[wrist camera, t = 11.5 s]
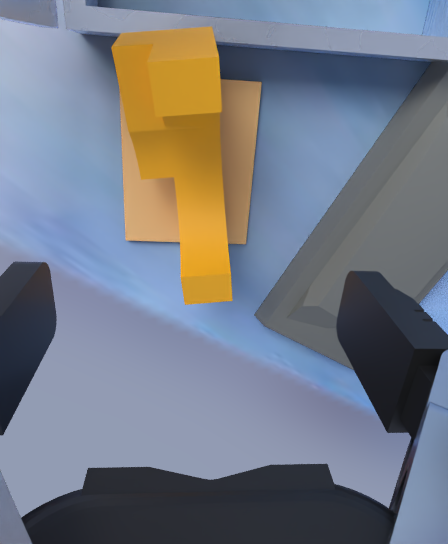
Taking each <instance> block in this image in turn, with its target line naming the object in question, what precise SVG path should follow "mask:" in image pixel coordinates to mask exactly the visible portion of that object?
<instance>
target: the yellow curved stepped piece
mask: <svg viewBox="0 0 448 544" xmlns="http://www.w3.org/2000/svg"><path fill="white" fill-rule="evenodd" d="M111 48H112V53H113V58H114V63H115V68H116V73H117V78H118V83H119V88H120V93H121V98H122V103H123V107H124V112H125V117H126V122H127V127H128V132H129V134H130V137H131V140H132V143H133V146H134V150H135V154H136V158H137V162H138V167H139V171H140V177H141V180H145V179H158V178H171V177H174V181H175V190H176V199H177V209H178V220H179V234H180V254H181V283H182V289H183V296H184V302H185V305H188V304H200V303H212V302H224V301H232V284H231V270H230V260H229V251H228V240H227V229H226V217H225V204H224V190H223V176H222V159H221V139H220V112H222V101H221V82H220V64H219V54H218V50H217V46H216V42H215V38H214V33H213V29H212V27H198V28H184V29H170V30H156V31H142V32H128V33H121V34H120V36H119V37H118V38H117V40H116V41H115V42H114V44H113V45H112V47H111Z"/></svg>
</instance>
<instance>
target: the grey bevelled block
mask: <svg viewBox="0 0 448 544" xmlns="http://www.w3.org/2000/svg"><path fill="white" fill-rule="evenodd" d="M447 270H448V62H431V64H430V65H429V67H428V68H427V69H426V71H425V72H424V74H423V75H422V77H421V78H420V79H419V81H418V82H417V84H416V85H415V87H414V88H413V89H412V91H411V92H410V94H409V95H408V97H407V98H406V99H405V101H404V102H403V104H402V105H401V106H400V108H399V109H398V111H397V112H396V114H395V115H394V116H393V118H392V119H391V121H390V122H389V124H388V125H387V126H386V128H385V129H384V131H383V132H382V133H381V135H380V136H379V138H378V139H377V141H376V142H375V143H374V145H373V146H372V148H371V149H370V151H369V152H368V153H367V155H366V156H365V158H364V159H363V161H362V162H361V163H360V165H359V166H358V168H357V169H356V170H355V172H354V173H353V175H352V176H351V178H350V179H349V180H348V182H347V183H346V185H345V186H344V188H343V189H342V190H341V192H340V193H339V195H338V196H337V198H336V199H335V200H334V202H333V203H332V205H331V206H330V207H329V209H328V210H327V212H326V213H325V215H324V216H323V217H322V219H321V220H320V222H319V223H318V225H317V226H316V227H315V229H314V230H313V232H312V233H311V234H310V236H309V237H308V239H307V240H306V242H305V243H304V244H303V246H302V247H301V249H300V250H299V252H298V253H297V254H296V256H295V257H294V259H293V260H292V262H291V263H290V264H289V266H288V267H287V269H286V270H285V272H284V273H283V274H282V276H281V277H280V279H279V280H278V282H277V283H276V284H275V286H274V287H273V289H272V290H271V292H270V293H269V294H268V296H267V297H266V299H265V300H264V302H263V303H262V304H261V306H260V307H259V309H258V310H257V312H256V313H255V314H254V315H255V316H256V317H257V319H258V320H259V321H260V322H261V323H262V324H263V325H264V326H265V327H267V328H269V329H271V330H273V331H275V332H277V333H279V334H281V335H284V336H286V337H288V338H290V339H292V340H294V341H296V342H298V343H300V344H302V345H304V346H306V347H308V348H310V349H312V350H314V351H316V352H318V353H320V354H322V355H324V356H326V357H328V358H330V359H332V360H334V361H336V362H339V363H341V364H343V365H345V366H347V367H349V368H351V369H353V367H352V365H351V363H350V361H349V359H348V357H347V356H346V354H345V352H344V350H343V348H342V346H341V344H340V342H339V340H338V337H337V330H336V323H337V316H338V312H339V307H340V302H341V298H342V293H343V288H344V284H345V279H346V276H347V274H348V273H349V272H350V271H378V272H380V273H381V274H382V275H383V276H384V278H385V279H386V280H387V281H388V282H389V283H390V284H391V285H392V286H393V288H394V289H398V290H399V291H401V292H403V293H404V294H406V295H408V296H410V297H411V298H413V299H414V300H415V301H416V302H417V303H418V304H419V303H420V302H421V301H422V300H423V298H424V297H425V296H426V295H427V294H428V293H429V291H430V290H431V289H432V288H433V287H434V286H435V284H436V283H437V282H438V281H439V280H440V279H441V277H442V276H443V275H444V274H445V273H446V272H447ZM353 370H354V369H353Z"/></svg>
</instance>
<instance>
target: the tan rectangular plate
mask: <svg viewBox="0 0 448 544" xmlns="http://www.w3.org/2000/svg"><path fill="white" fill-rule="evenodd" d="M220 82H221V101H222V112H220V139H221V159H222V176H223V190H224V204H225V217H226V229H227V240H228V244H246V239H247V228H248V218H249V208H250V198H251V187H252V177H253V167H254V156H255V146H256V136H257V126H258V115H259V105H260V95H261V84H262V82H256V81H242V80H228V79H220ZM119 89H120V88H119ZM120 113H121V137H122V162H123V186H124V210H125V235H126V240H129V241H160V242H180V234H179V220H178V209H177V199H176V190H175V181H174V177H171V178H158V179H145V180H141V177H140V171H139V167H138V162H137V158H136V154H135V150H134V146H133V143H132V140H131V137H130V134H129V132H128V127H127V122H126V117H125V112H124V107H123V103H122V98H121V93H120Z"/></svg>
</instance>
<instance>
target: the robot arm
mask: <svg viewBox="0 0 448 544" xmlns="http://www.w3.org/2000/svg"><path fill="white" fill-rule="evenodd" d="M55 330H56V310H55V302H54V296H53V289H52V282H51V274H50V269H49V266H48V264H47V263H45V262H13V264H11V265H10V267H9V268H8V269H7V270H6V271H5V272H4V273H3V274H2V275H1V276H0V435H3V434H4V432H5V430H6V428H7V426H8V424H9V423H10V420H11V419H12V417H13V415H14V413H15V411H16V409H17V407H18V405H19V403H20V401H21V399H22V397H23V395H24V394H25V392H26V390H27V388H28V386H29V384H30V382H31V380H32V378H33V376H34V374H35V372H36V370H37V368H38V366H39V364H40V362H41V361H42V359H43V357H44V355H45V353H46V351H47V349H48V347H49V345H50V343H51V341H52V339H53V337H54V334H55ZM336 330H337V337H338V340H339V342H340V344H341V346H342V348H343V350H344V352H345V354H346V356H347V357H348V359H349V361H350V363H351V365H352V367H353V369H354V371H355V373H356V374H357V376H358V378H359V380H360V382H361V384H362V386H363V388H364V389H365V391H366V393H367V395H368V397H369V399H370V401H371V403H372V405H373V406H374V408H375V410H376V412H377V414H378V416H379V418H380V420H381V421H382V423H383V425H384V427H385V429H386V431H387V432H388V433H405V432H408V433H409V434H410V436H411V440H410V443H409V446H408V448H407V451H406V455H405V458H404V461H403V464H402V468H401V471H400V474H399V477H398V480H397V483H396V487H395V490H394V493H393V496H392V500H391V503H390V506H389V508H387V507H386V506H384V505H383V504H381V503H379V502H377V501H376V500H374V499H372V498H370V497H368V496H366V495H364V494H362V493H359V492H357V491H355V490H352V489H349V488H346V487H343V486H340V485H336V484H334V482H333V479H332V476H331V474H330V470H329V468H328V465H327V464H294V465H269V466H265V467H261V468H257V469H253V470H250V471H246V472H242V473H238V474H235V475H231V476H227V477H223V478H220V479H214V480H207V479H201V478H197V477H192V476H188V475H183V474H179V473H174V472H169V471H165V470H160V469H156V468H151V467H121V468H88V470H87V474H86V477H85V481H84V485H83V489H80V490H77V491H73V492H70V493H68V494H65V495H63V496H60V497H57V498H55V499H53V500H51V501H49V502H47V503H45V504H43V505H41V506H39V507H37V508H36V509H34V510H32V511H31V512H29V513H28V514H26V515H25V516H23V517H22V518H21V517H20V515H19V512H18V510H17V508H16V506H15V503H14V501H13V499H12V496H11V494H10V492H9V489H8V487H7V485H6V482H5V480H4V478H3V476H2V473H1V471H0V544H448V335H447V334H446V333H445V332H444V331H443V330H442V328H441V327H440V326H439V325H438V324H437V323H436V322H433V319H432V318H431V317H430V316H429V315H428V314H427V313H426V312H424V309H423V308H422V307H421V306H420V305H419V304H418V303H417V302H416V301H415V300H414V299H413V298H411V297H410V296H408V295H406V294H404V293H403V292H401V291H399V290H398V289H394V288H393V286H392V285H391V284H390V283H389V282H388V281H387V280H386V279H385V278H384V276H383V275H382V274H381V273H380V272H378V271H350V272H349V273H348V274H347V276H346V279H345V284H344V288H343V293H342V298H341V302H340V307H339V312H338V316H337V323H336Z"/></svg>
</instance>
